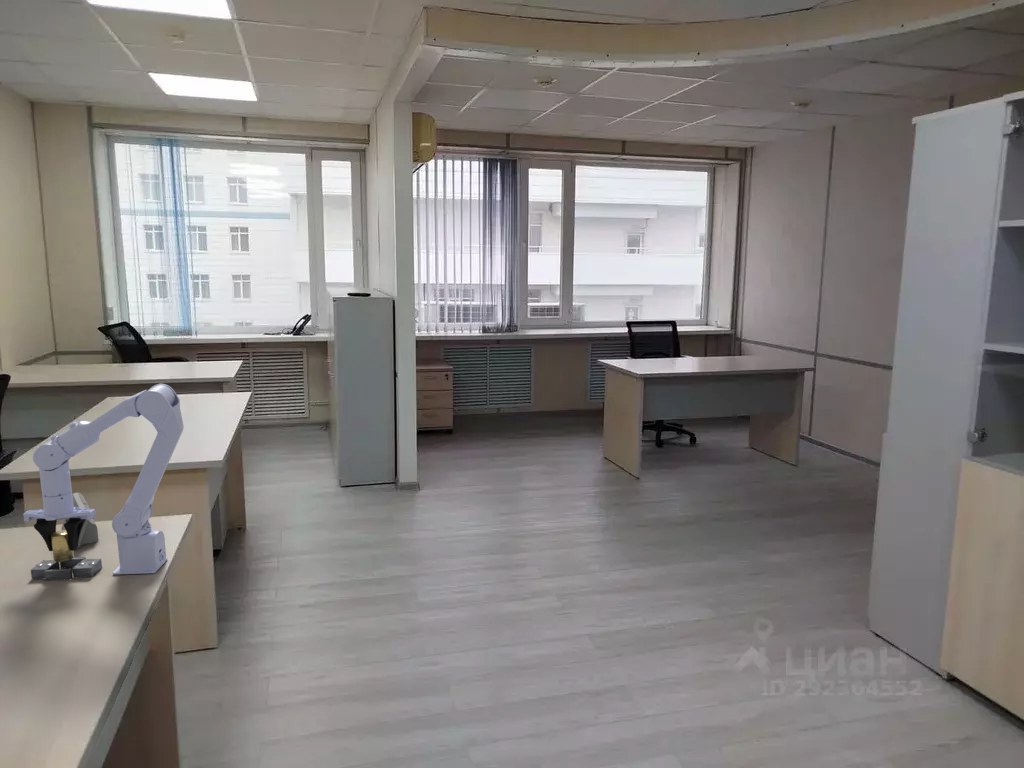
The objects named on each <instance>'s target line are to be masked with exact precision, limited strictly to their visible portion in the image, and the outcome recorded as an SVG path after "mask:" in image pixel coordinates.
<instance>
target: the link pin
mask: <svg viewBox="0 0 1024 768" xmlns="http://www.w3.org/2000/svg"><path fill="white" fill-rule="evenodd" d="M51 543H52V550H53V551H52V556H53V560H54V561H55V562H59V563H60V562H64V561H68V560H70V559H72V558H75V553H74V551H75V550H73V551H70V548H69V540H68V535H67V532H66V530H62V531H61V530H58V531H56V532H55V533H53V534H51Z"/></svg>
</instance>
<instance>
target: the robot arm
mask: <svg viewBox="0 0 1024 768" xmlns="http://www.w3.org/2000/svg"><path fill="white" fill-rule="evenodd" d="M141 416H142V417H143V418H145V419H146V420H147V421H148V422H149V423H151V424H152V425H153V428H154V429H155V430H156V432H157V433H156V436H155V439H154V440H153V442H152V445H151V447H150V450H149V452H148V454H147V456H146V459H145V461H144V463H143V466H142V467H141V470H140V472H139V474H138V476H137V480H136V481H135V484H134V485H133V488H132V490H131V492H130V495H129V496H128V498H127V500H126V501H125V503H124V504H123V507H122V508H121V510H120V511H119V512H118V513H117V514H115V516H114V517H113V518H112V521H111V527H112V530H113V532H114V533H116V540H117V551H118V560H119V562H118V563H119V566H117V568H115V570H113V571H112V575H137V574H139V575H141V574H156V573H157V572H158V570H159V569H160V568H161V567H162V566H163V564H165V563H166V562H167V561H168V557H167V552H166V539H165V538H166V537H165V534H164V532H163V531H162V530H158V529H157V530H156V529H153V528H152V525H151V524H150V522H149V520H150V518H151V517H152V515H153V503H154V500H155V494H156V493H157V490H158V489H159V486H160V484H161V481H162V478H163V477H164V474H165V472H166V469H167V467H168V465H169V463H170V461H171V458H172V455H173V454H174V452H175V449H176V447H177V445H178V442H179V440H180V438H181V436H182V433H183V431H184V421H183V417H182V411H181V399H180V397H179V395H178V394H177V393H176V391H175V390H174V389H173V388H172V387H171V386H170V385H168V384H165V383H158V384H157V383H156V384H155V385H153V386H151V387H150V388H149V389H145V390H142V391H140V392H138V393H135V394H133V395H131V396H129V397H127V398H126V399H124V400H122V401H121V402H118V404H116V405H114V407H112V408H110V409H108V410H107V411H106V412H105V413H103V414H101V415H100V416H98V417H97V418H95V419H94V420H92V421H87V420H80V421H79V422H78V421H74V422H72V423H71V424H69V425H68V427H69V428H68V429H67V430H64V431H63V432H61V433H60V434H58V435H57V434H55V435H53V436H51V437H50V440H48V441H46V442H45V443H44V444H41V445H39V447H37V448H36V449H35V451H34V453H33V455H32V460H33V463H34V465H35V466H37V467H38V469H39V480H40V490H41V495H42V496H41V497H42V505H43V506H42V507H43V509H29V510H27V511H25V512H24V513H23V515H22V516H23V522H30V521H36V523H35V524H34V525H33V528H34V529H35V530H36V531H37V532H38V533H39V535H40V536H41V538H42V539H43V541H44V543H45V545H46V547H47V549H48V551H49V552H53V550H52V543H51V534H53V533H55V532H57V521H58V520H63V521H64V519H69V521H68V522H66V523H65V524H64V527H65V529H66V532H67V535H68V540H69V548H70V551H73V550H74V551H75V550H77V549H76V548H77V547H78V541H79V536H80V533H81V530H82V527H83V525H84V523H85V521H86V519H87V520H92V519H93V520H94V519H95V518H96V510H95V508H90V509H84V508H76V507H74V505H73V496H72V494H73V489H72V488H73V487H72V480H71V479H72V478H71V472H70V462H69V460H71V458H74V457H75V456H77V455H79V454H80V453H82V452H83V451H85V450H87V449H88V448H90V447H92V446H93V445H94V444H96V443H97V442H98V441H99V440H100V437H101V436H100V435H101V433H102V432H104V431H105V430H107V429H109V428H111V427H112V426H115V424H117V423H119V422H121V421H123V420H124V419H126V418H128V417H132V418H139V417H141Z"/></svg>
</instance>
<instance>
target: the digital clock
mask: <svg viewBox="0 0 1024 768" xmlns="http://www.w3.org/2000/svg"><path fill="white" fill-rule="evenodd" d="M72 496H73V505H74V507H76V508H84V509H91V508H90V505H89V504H88V501H86V499H85V497H84V495H83V494H82V493H81V492H74V493H72ZM68 521H69V519H64V520H63V522H62V526H61V530H60V531H62V530H66V529H65V527H64V524H65V523H66V522H68ZM98 530H99V529H98V526H97V523H96V522H95V520H94V518H93V519H92V520H87V519H86V521H85V523H84V525H83V527H82V530H81V533H80V536H79V541H78V547H77V548H76V549H75V550H78V549H79V548H80V546H83V545H87V543H88V544H91V542H92V543H97V542H98V541H99V531H98ZM96 541H97V542H96ZM82 544H83V545H82Z"/></svg>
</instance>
